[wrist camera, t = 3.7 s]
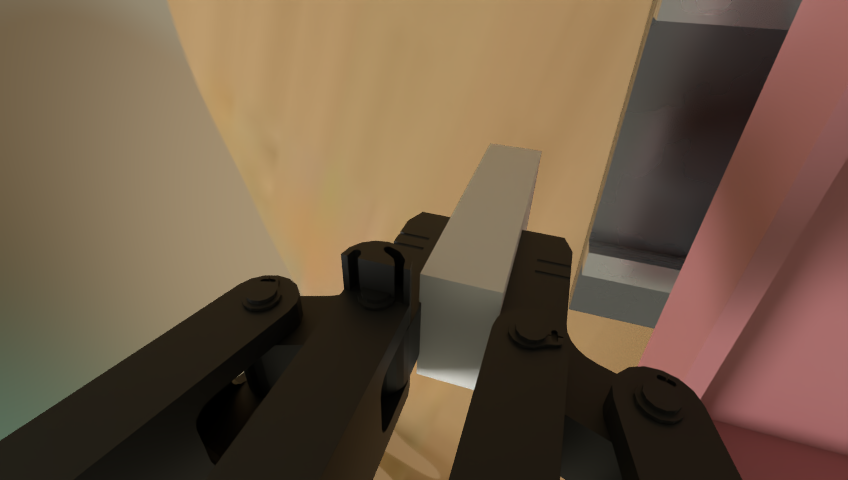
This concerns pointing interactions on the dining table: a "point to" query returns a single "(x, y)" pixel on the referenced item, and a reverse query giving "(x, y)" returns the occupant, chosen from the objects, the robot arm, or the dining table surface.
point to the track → (674, 147)
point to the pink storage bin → (775, 271)
